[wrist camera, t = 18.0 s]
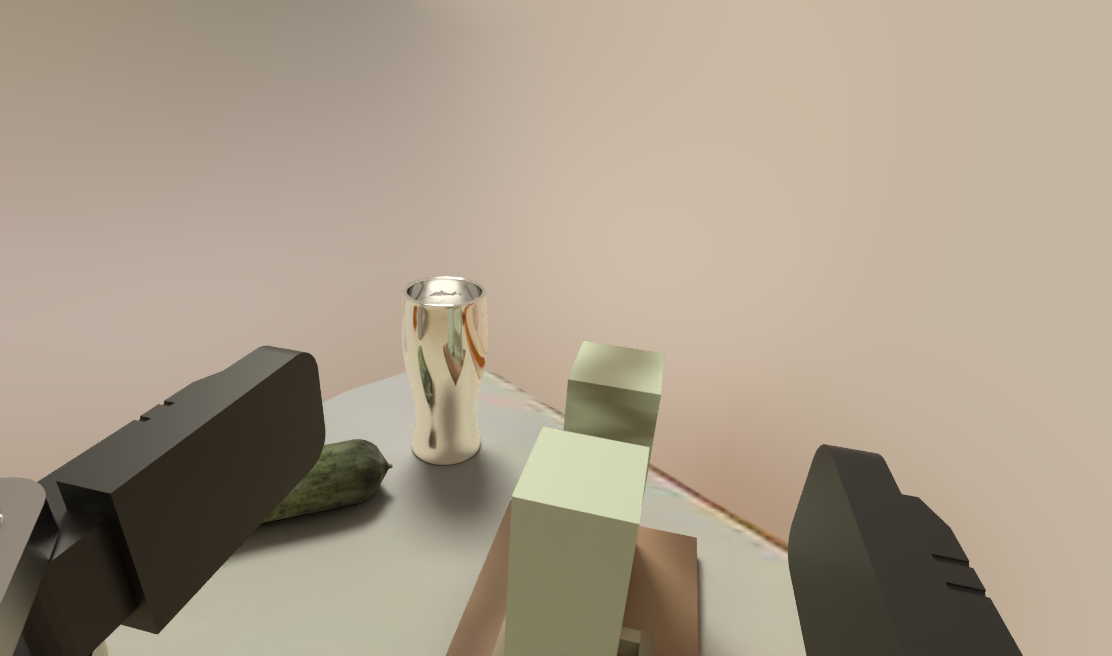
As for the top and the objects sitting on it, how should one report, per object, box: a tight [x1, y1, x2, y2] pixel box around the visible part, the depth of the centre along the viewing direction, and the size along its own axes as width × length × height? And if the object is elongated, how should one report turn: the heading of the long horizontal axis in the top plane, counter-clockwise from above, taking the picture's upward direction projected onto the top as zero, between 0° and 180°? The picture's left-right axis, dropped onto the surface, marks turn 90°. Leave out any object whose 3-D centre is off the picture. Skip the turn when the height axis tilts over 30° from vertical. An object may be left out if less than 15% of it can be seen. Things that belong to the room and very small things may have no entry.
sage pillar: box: [504, 427, 650, 656], centre depth 27 cm, size 5×5×15 cm
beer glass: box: [402, 276, 488, 465], centre depth 49 cm, size 7×7×15 cm
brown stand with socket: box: [446, 341, 699, 656], centre depth 31 cm, size 14×20×16 cm
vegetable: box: [262, 439, 392, 523], centre depth 43 cm, size 14×5×5 cm, turn 113°
